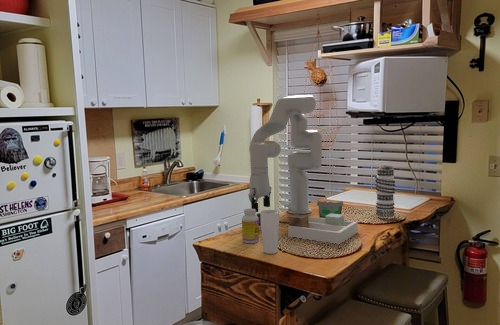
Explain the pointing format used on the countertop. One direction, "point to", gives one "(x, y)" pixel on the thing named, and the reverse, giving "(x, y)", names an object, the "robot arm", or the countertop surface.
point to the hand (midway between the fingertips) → (261, 209)
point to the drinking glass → (270, 230)
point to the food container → (329, 208)
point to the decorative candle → (385, 191)
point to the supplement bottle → (250, 226)
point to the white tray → (324, 231)
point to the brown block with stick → (293, 220)
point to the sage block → (334, 219)
